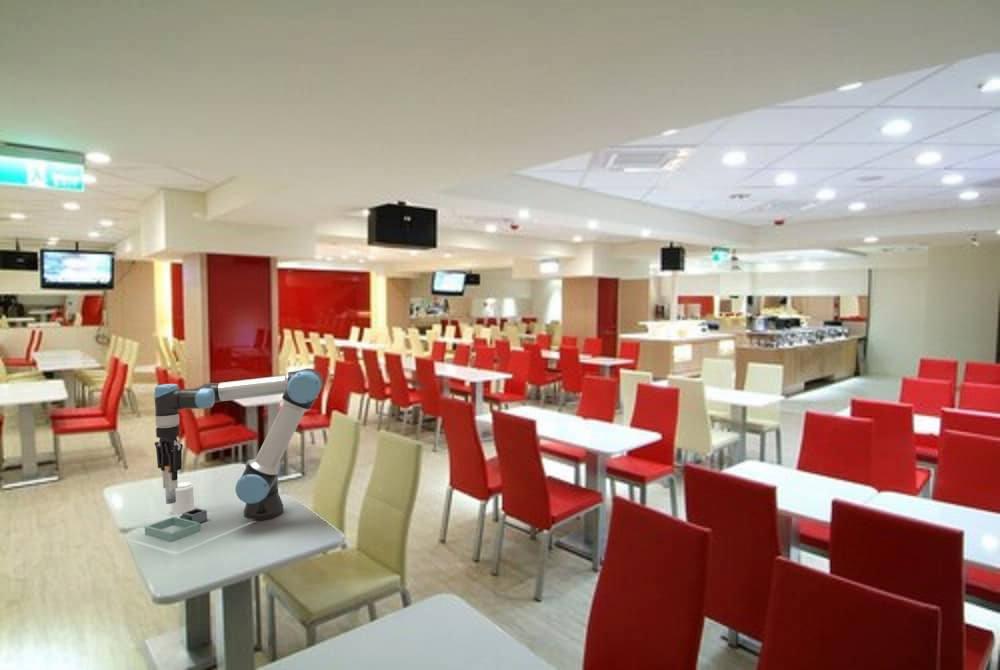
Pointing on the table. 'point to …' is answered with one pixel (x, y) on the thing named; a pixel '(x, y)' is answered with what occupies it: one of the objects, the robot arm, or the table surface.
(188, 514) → the dark grey open box
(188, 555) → the table surface
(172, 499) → the grey orange cylinder
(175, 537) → the tray
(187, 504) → the white upright cylinder
